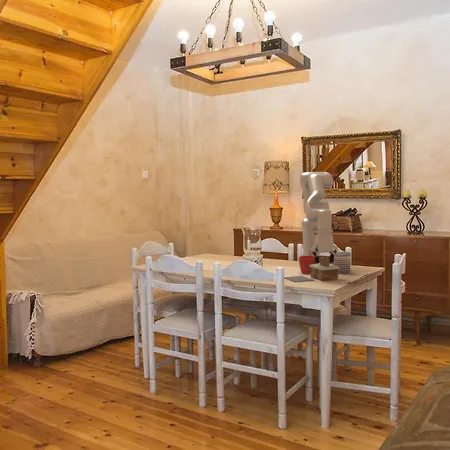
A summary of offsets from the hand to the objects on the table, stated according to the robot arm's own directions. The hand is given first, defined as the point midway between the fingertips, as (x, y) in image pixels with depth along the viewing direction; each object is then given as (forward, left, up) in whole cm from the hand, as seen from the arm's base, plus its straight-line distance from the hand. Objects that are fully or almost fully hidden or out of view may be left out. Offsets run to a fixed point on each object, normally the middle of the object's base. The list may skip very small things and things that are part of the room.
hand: (324, 262), depth 288 cm
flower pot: (-20, +1, -9) cm, 22 cm away
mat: (-4, -14, -9) cm, 17 cm away
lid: (0, 0, -3) cm, 3 cm away
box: (0, 0, -9) cm, 9 cm away
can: (-12, +19, -9) cm, 24 cm away
